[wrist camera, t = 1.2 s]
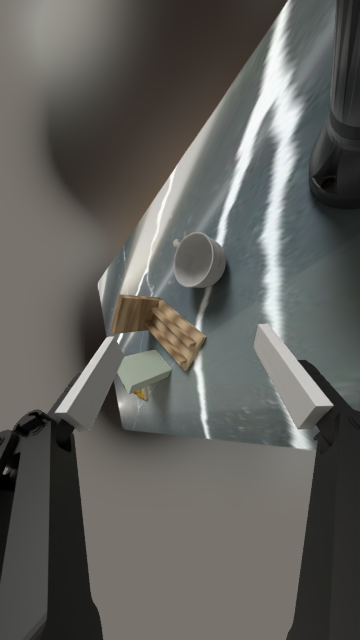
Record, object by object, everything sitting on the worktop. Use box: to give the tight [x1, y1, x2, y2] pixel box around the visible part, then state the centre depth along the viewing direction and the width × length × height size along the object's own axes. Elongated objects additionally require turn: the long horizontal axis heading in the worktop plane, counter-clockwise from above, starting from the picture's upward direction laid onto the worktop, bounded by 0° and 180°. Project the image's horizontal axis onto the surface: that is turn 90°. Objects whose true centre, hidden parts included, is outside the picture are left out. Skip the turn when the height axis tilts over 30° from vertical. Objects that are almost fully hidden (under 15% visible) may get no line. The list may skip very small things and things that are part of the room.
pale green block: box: [117, 349, 172, 394], centre depth 45 cm, size 10×4×14 cm, turn 59°
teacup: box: [173, 232, 226, 288], centre depth 33 cm, size 14×11×8 cm
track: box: [111, 294, 206, 371], centre depth 41 cm, size 22×12×14 cm, turn 59°
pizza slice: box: [123, 384, 148, 400], centre depth 64 cm, size 16×21×3 cm
